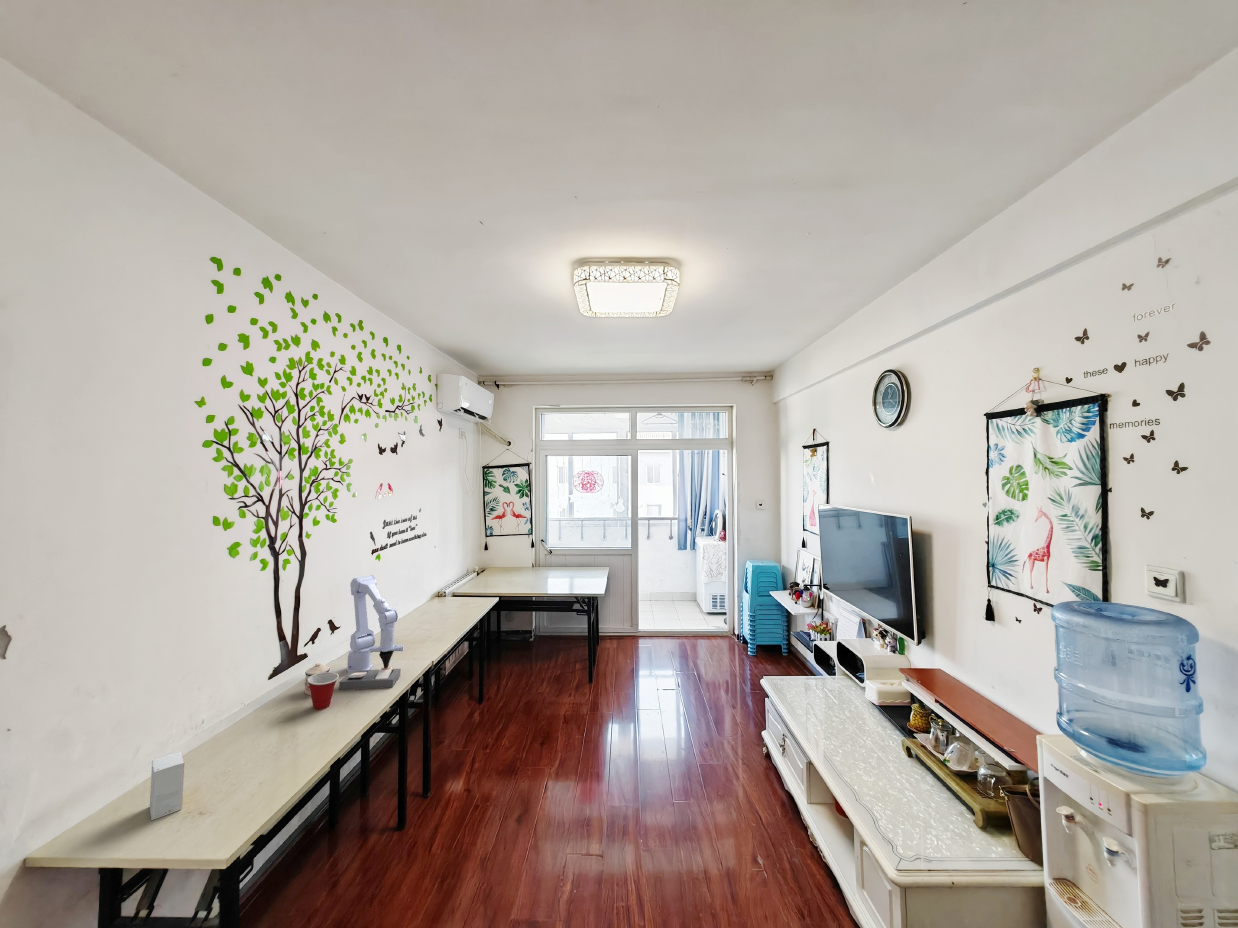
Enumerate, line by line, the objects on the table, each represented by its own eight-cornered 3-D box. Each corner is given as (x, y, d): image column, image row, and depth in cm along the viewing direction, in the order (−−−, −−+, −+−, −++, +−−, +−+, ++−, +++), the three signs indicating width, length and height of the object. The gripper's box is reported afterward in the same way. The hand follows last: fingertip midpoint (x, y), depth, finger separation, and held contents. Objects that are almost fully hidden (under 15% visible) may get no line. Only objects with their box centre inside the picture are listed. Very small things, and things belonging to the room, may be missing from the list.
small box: (182, 809, 133) (184, 762, 134) (150, 821, 129) (153, 772, 129) (179, 795, 139) (181, 750, 139) (149, 806, 134) (151, 759, 135)
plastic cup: (324, 714, 187) (325, 683, 187) (299, 711, 188) (300, 681, 189) (344, 701, 197) (345, 672, 198) (320, 699, 199) (321, 670, 199)
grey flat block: (338, 689, 208) (339, 681, 208) (349, 678, 219) (349, 670, 220) (392, 687, 211) (392, 679, 211) (400, 675, 223) (400, 668, 223)
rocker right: (375, 680, 212) (375, 678, 212) (381, 669, 220) (380, 667, 220) (387, 680, 213) (387, 677, 213) (392, 668, 221) (392, 666, 221)
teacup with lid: (299, 695, 202) (300, 667, 202) (312, 685, 211) (313, 659, 211) (327, 695, 202) (328, 668, 202) (340, 686, 211) (341, 659, 211)
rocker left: (348, 677, 210) (348, 674, 211) (355, 674, 218) (355, 672, 218) (360, 677, 211) (361, 674, 211) (366, 674, 219) (367, 671, 219)
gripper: (367, 640, 215) (366, 671, 214) (401, 639, 217) (400, 669, 217) (372, 635, 222) (371, 665, 221) (405, 634, 224) (404, 663, 224)
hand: (386, 667), depth 219 cm, fingers closed
